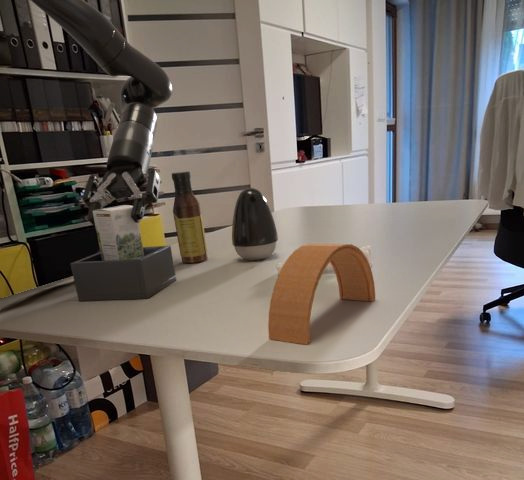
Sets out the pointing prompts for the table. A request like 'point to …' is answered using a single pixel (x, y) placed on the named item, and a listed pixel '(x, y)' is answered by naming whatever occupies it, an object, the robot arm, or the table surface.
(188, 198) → the sauce bottle
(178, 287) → the table surface
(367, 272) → the arch
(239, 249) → the black white egg shape
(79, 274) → the open box
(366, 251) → the figurine
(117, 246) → the syrup box
